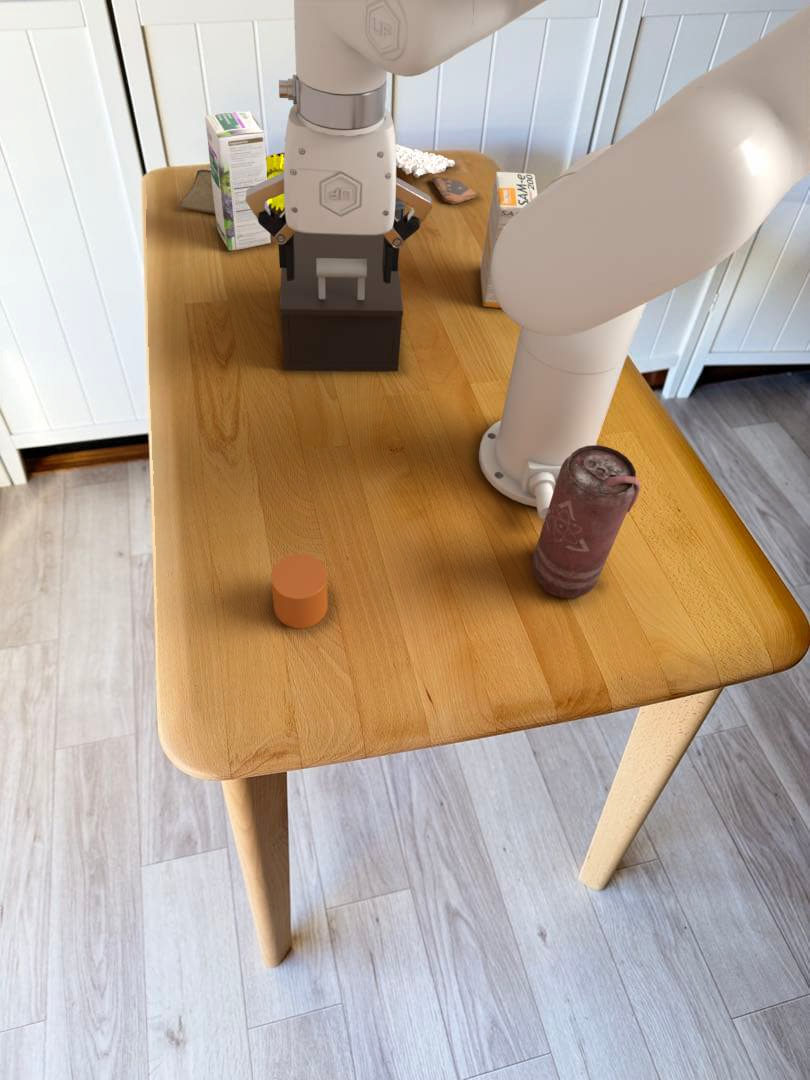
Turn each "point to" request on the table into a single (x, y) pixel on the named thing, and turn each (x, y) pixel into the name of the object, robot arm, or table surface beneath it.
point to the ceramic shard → (200, 194)
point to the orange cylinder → (299, 590)
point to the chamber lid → (339, 278)
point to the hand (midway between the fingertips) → (338, 274)
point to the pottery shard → (453, 190)
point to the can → (583, 520)
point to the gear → (273, 168)
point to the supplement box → (503, 220)
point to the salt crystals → (420, 161)
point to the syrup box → (236, 176)
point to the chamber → (341, 342)
